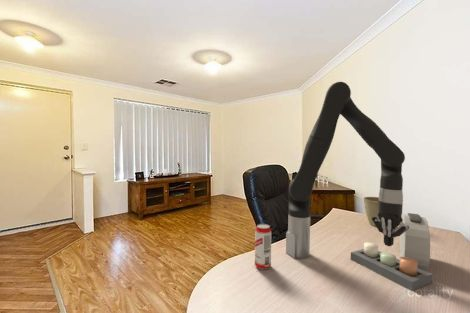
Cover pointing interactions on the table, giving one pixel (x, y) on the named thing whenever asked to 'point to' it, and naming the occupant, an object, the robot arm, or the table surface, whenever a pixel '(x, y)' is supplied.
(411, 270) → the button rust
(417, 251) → the alarm clock
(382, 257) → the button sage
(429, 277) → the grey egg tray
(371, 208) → the plant pot
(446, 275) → the table surface
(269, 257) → the beer can
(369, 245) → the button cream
